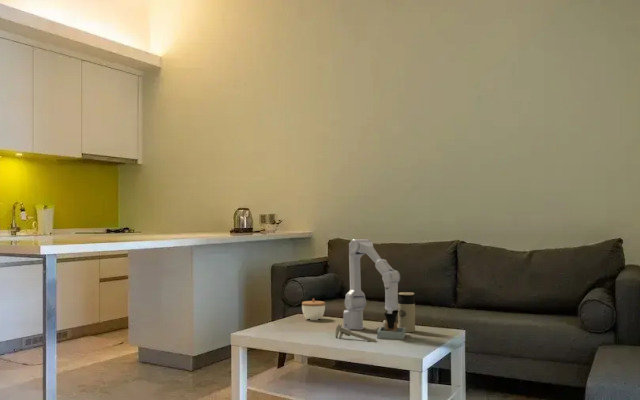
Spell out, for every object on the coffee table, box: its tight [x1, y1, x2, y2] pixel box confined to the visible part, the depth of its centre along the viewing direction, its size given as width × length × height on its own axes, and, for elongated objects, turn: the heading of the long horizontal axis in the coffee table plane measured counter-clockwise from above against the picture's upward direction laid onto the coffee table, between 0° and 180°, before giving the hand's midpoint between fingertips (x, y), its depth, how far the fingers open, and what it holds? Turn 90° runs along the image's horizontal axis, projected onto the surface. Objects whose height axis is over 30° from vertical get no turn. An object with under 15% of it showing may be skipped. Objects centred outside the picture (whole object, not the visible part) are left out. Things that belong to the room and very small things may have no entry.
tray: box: [376, 326, 407, 340], centre depth 254 cm, size 12×12×3 cm
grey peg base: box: [375, 319, 387, 333], centre depth 267 cm, size 8×8×5 cm
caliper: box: [335, 324, 379, 343], centre depth 247 cm, size 20×1×6 cm, turn 60°
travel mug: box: [397, 291, 416, 333], centre depth 268 cm, size 8×8×18 cm
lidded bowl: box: [301, 298, 326, 321], centre depth 302 cm, size 13×13×11 cm
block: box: [385, 321, 398, 332], centre depth 255 cm, size 5×5×5 cm
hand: (391, 327), depth 255 cm, fingers closed on block, 5 cm apart
